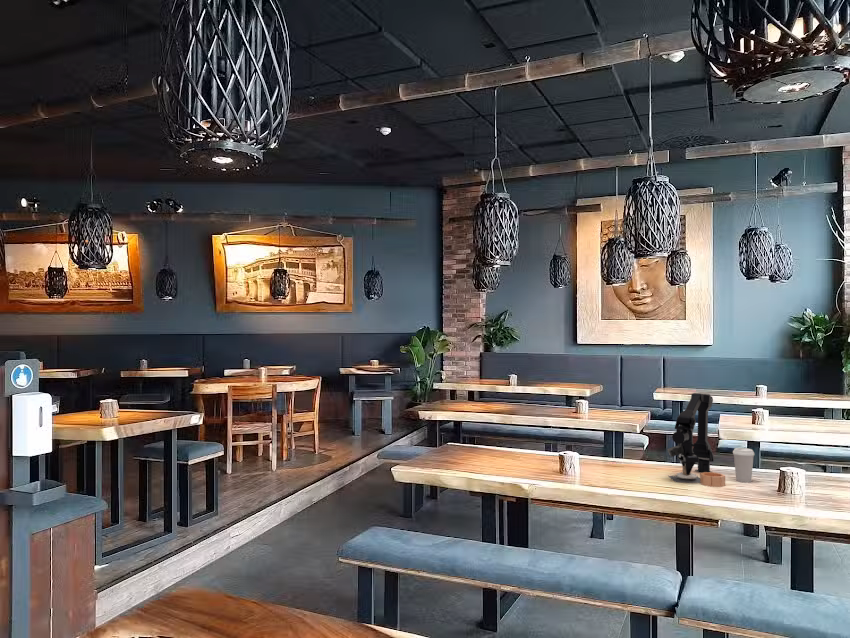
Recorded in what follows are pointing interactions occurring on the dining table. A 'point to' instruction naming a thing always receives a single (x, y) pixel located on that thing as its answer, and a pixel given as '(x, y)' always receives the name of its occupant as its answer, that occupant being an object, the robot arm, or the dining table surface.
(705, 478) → the bowl
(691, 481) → the trivet
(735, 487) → the dining table surface
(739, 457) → the coffee cup
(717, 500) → the dining table surface
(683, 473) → the lid
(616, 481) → the dining table surface
